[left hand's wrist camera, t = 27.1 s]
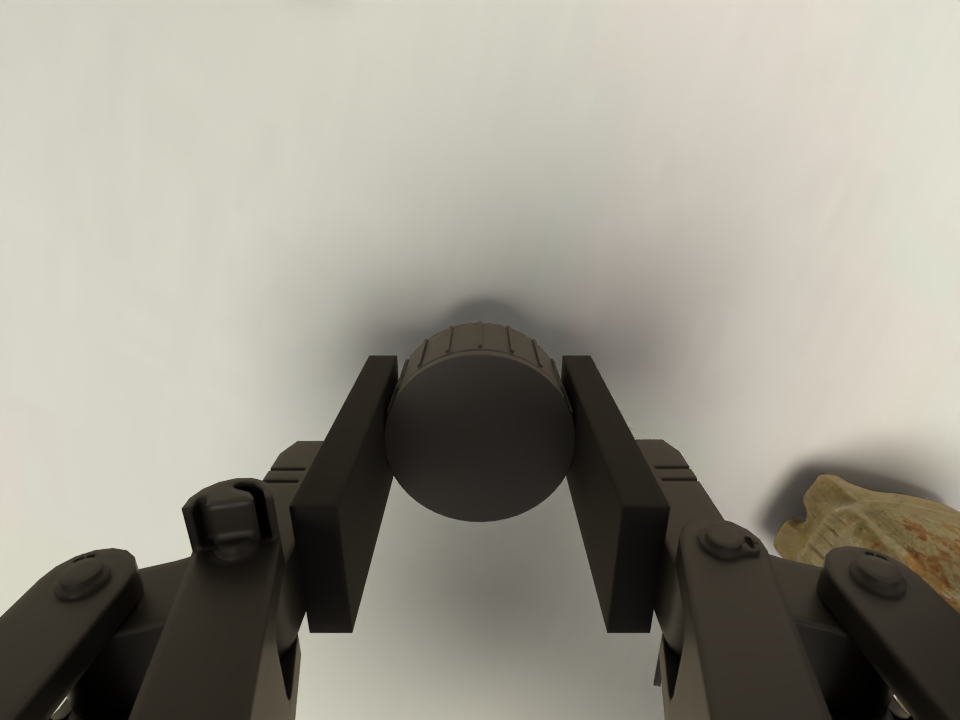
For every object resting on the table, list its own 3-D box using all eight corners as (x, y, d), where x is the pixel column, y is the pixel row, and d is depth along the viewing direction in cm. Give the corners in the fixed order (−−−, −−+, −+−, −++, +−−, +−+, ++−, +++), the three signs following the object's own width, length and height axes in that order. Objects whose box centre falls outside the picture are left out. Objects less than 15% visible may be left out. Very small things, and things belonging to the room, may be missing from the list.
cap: (511, 495, 16) (516, 550, 14) (368, 430, 15) (349, 477, 13) (595, 369, 14) (616, 409, 12) (442, 289, 14) (435, 316, 11)
